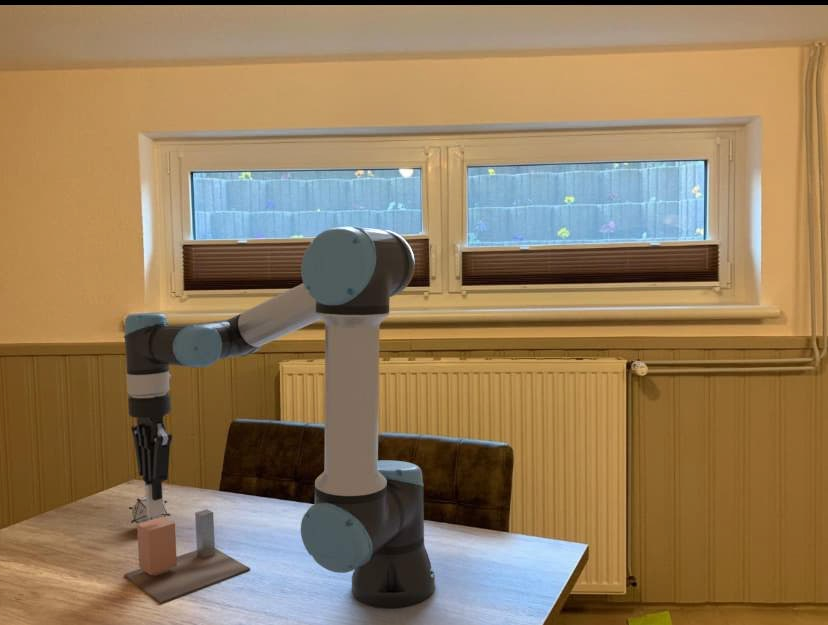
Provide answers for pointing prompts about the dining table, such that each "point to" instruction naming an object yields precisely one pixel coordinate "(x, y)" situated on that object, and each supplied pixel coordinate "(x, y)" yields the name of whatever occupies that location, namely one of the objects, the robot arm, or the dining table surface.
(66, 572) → the dining table surface
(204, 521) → the grey post
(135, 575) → the board
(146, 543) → the terracotta upright block
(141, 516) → the knobbed grey icosahedron
